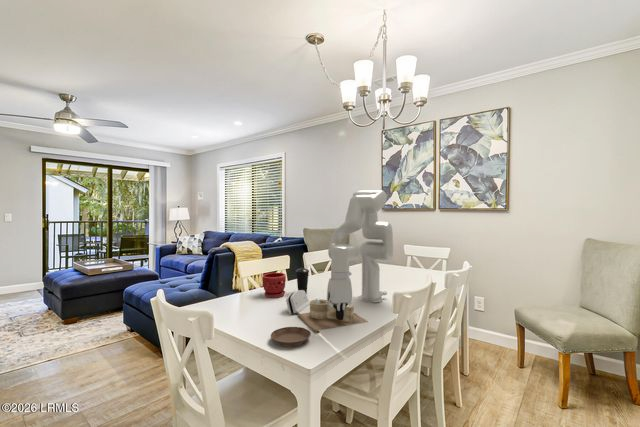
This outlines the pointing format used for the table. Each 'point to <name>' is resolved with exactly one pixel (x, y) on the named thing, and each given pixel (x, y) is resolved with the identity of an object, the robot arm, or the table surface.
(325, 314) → the link
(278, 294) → the plant pot
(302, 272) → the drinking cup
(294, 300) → the white rounded block
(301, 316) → the board
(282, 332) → the saucer
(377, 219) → the robot arm
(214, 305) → the table surface
